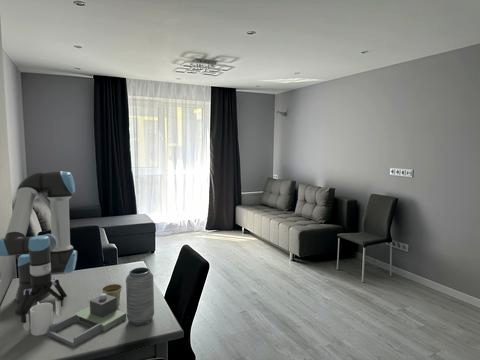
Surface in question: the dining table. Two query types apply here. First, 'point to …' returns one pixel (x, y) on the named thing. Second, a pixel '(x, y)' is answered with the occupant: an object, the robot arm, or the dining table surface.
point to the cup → (41, 318)
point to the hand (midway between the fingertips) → (43, 321)
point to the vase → (140, 296)
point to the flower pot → (113, 291)
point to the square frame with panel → (91, 319)
